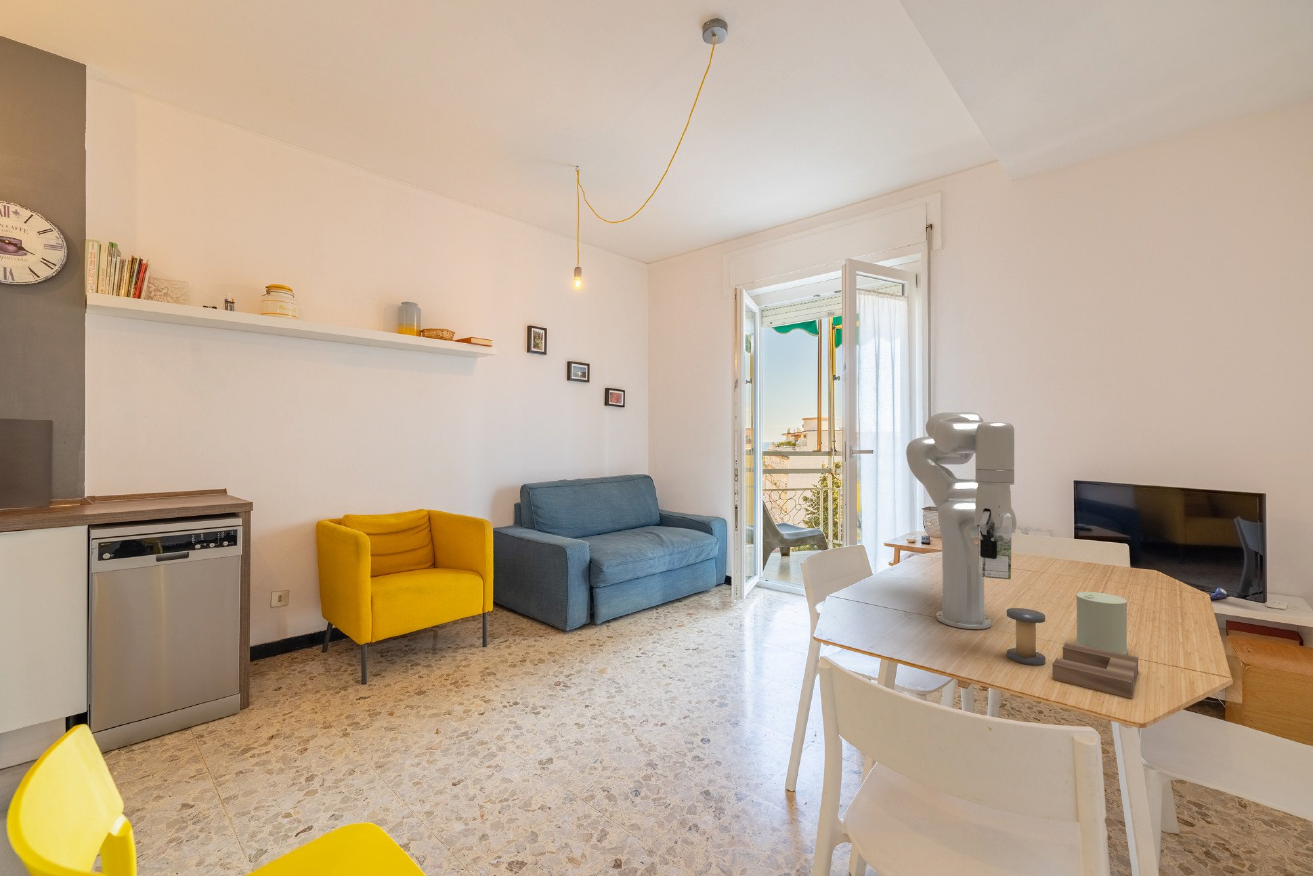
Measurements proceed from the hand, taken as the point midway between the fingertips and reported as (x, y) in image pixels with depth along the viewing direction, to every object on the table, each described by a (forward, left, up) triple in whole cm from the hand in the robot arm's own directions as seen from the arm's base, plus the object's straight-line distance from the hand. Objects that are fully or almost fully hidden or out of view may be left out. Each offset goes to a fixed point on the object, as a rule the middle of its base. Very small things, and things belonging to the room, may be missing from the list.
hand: (994, 554), depth 126 cm
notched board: (+2, +18, -22) cm, 28 cm away
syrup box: (0, 0, -5) cm, 5 cm away
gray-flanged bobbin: (+2, +6, -22) cm, 23 cm away
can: (-17, +17, -22) cm, 33 cm away
